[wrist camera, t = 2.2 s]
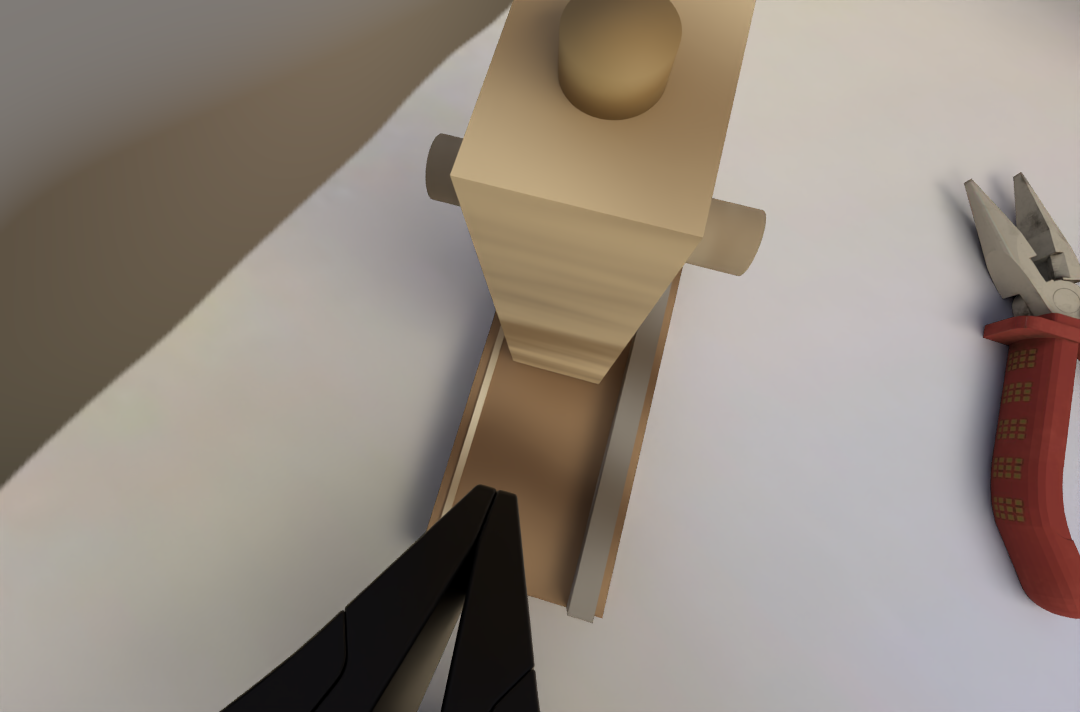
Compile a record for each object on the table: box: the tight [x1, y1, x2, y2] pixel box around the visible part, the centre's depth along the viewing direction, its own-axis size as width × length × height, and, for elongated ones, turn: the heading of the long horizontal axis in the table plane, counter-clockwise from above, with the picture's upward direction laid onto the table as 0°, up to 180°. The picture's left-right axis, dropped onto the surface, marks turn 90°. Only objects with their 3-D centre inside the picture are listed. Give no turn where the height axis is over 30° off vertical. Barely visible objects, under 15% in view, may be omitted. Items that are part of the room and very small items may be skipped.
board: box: [426, 266, 683, 623], centre depth 21 cm, size 21×8×2 cm, turn 164°
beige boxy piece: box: [426, 0, 766, 384], centre depth 14 cm, size 5×8×15 cm, turn 74°
